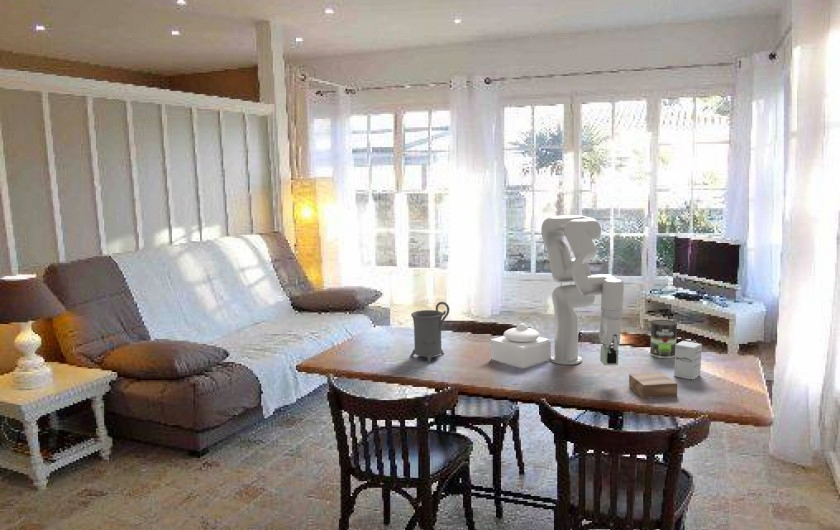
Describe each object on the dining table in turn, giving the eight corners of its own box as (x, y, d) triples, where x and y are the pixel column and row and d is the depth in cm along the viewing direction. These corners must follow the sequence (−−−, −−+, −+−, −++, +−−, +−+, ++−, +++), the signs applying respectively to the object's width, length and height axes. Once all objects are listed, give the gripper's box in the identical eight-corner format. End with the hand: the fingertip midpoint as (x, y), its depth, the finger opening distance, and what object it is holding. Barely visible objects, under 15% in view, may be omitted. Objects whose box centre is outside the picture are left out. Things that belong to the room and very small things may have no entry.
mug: (402, 360, 270) (400, 302, 266) (418, 351, 283) (416, 296, 279) (443, 365, 262) (441, 305, 258) (457, 355, 275) (456, 298, 271)
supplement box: (673, 376, 240) (674, 344, 238) (681, 371, 245) (682, 340, 243) (693, 380, 235) (694, 347, 233) (701, 375, 240) (702, 343, 238)
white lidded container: (523, 369, 254) (522, 330, 252) (490, 359, 268) (489, 323, 266) (550, 360, 265) (551, 323, 263) (518, 351, 279) (518, 316, 277)
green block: (600, 360, 236) (600, 345, 235) (613, 360, 236) (614, 345, 235) (604, 365, 231) (605, 349, 230) (617, 365, 231) (618, 349, 230)
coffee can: (677, 359, 262) (679, 325, 260) (651, 357, 264) (652, 324, 262) (674, 352, 272) (675, 319, 269) (648, 351, 274) (649, 319, 272)
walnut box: (629, 387, 230) (629, 374, 230) (660, 385, 231) (661, 372, 231) (643, 399, 219) (643, 385, 218) (676, 397, 220) (677, 383, 219)
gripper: (594, 306, 238) (592, 353, 242) (608, 319, 222) (606, 369, 225) (614, 306, 238) (611, 352, 242) (629, 319, 222) (627, 368, 225)
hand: (609, 360), depth 234 cm, fingers closed on green block, 5 cm apart
